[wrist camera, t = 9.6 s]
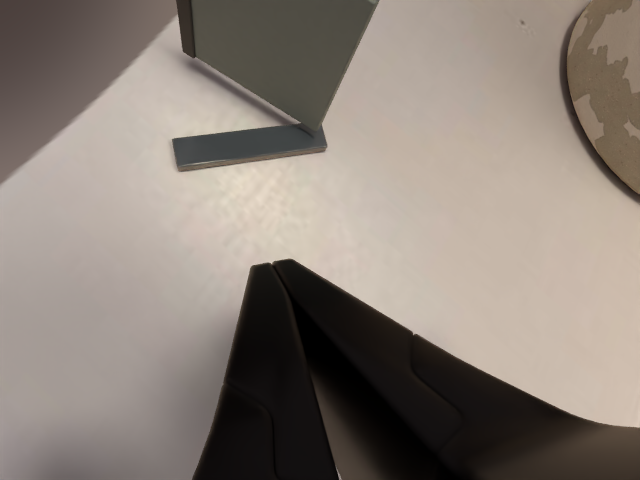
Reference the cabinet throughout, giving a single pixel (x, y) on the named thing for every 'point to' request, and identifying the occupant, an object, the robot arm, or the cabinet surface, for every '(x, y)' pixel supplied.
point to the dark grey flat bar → (246, 146)
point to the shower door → (278, 47)
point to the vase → (609, 83)
